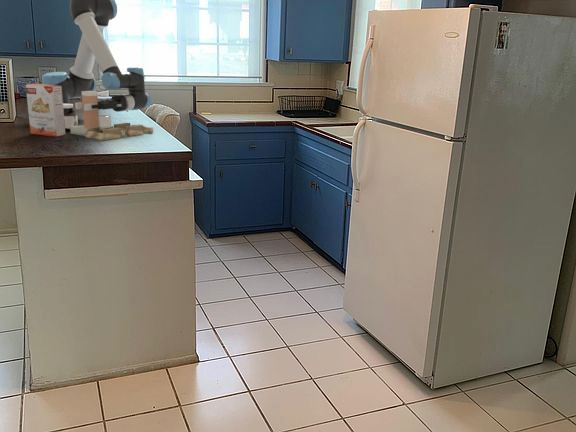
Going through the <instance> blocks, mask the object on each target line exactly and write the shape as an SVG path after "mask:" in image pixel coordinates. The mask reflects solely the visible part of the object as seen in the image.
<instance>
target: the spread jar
mask: <svg viewBox="0 0 576 432" xmlns="http://www.w3.org/2000/svg"><path fill="white" fill-rule="evenodd" d="M63 109H64V121H65V133H68V132H69V133H71V132H70V127H72V126H79V125H78V124H79V121H78V119H79V117H78V113H77V111H76V109H74V104H73V103H70V104H63Z"/></svg>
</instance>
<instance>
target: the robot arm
mask: <svg viewBox="0 0 576 432" xmlns="http://www.w3.org/2000/svg"><path fill="white" fill-rule="evenodd" d="M69 12H70V15H71V18H72V20H73V22H74V24H75V25H77V26H78V27H79V29H80V31H81V33H82V34H81V38H80V41H79V45H78V48H77V54H76V57H75V60H74V61H75V62H74V64H73V66H71V67H70V68H69V72H68V73H67V72H66V71H55V72H47V73H45V74H43V75H42V76H41V84H45V85H55V86H62V97H63V104H71V103H70V99H82V92H81V91H97V90H96V88H97V83H96V82H97V81H96V79H95V75H94V73H93V69H94V65H95V61H96V63H97V65H98V67H99V68H100V70H101V72H102V75H101V79H100V80H101V85H102V87H104V89H106V90H111V91H117V90H125V89H128V93H123V94H114V95H112V96H111V97H110V98H106V99H98V105H97V103H89V104H84V110H85V111H86V110H96V109H98V110H103V111H104V110H111V109H112V110H113V111H115V112H117V113H119V112H126V113H128V112H129V111H135V110H137V111H140V110H144V109H148V108H149V107H150V106H151V103H152V99H151V97H150V95H149V94H148V93H147V92H146V88H145V74H144V73H145V72H144V69H143V68H142V67H140V66H139V67H138V66H134V67H133V66H132V67H127V68H126V71H121V69H120V67H119V66H118V64H117V62H116V60H115V58H114V55H113V54H112V51H111V50H110V48H109V46H108V44H107V42H106V39H105V37H104V36H103V32H104V29H105V28H107V27H108V26H109V24H110V23H109V22H110V20H111V21H112V20H113V19H115V18H116V16H117V13H118V5H117V3H116V0H70V1H69ZM74 104H75V105H74V107H75V110H83V103H82V102H75V103H74Z"/></svg>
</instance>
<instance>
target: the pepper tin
mask: <svg viewBox="0 0 576 432" xmlns="http://www.w3.org/2000/svg"><path fill="white" fill-rule="evenodd" d="M111 117H112V116H111V115H108V114H107V115H105V114H102V115H100V114H99V116H98V120H99V133H103V129H111V126H112V118H111Z"/></svg>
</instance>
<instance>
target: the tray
mask: <svg viewBox="0 0 576 432" xmlns="http://www.w3.org/2000/svg"><path fill="white" fill-rule="evenodd" d="M111 128H114V125H111ZM85 131H90V129H84V124H82V125H78V126H72V127H70V132H69V133H70V134H71V135H77V136H83V137H86V132H85Z"/></svg>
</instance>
